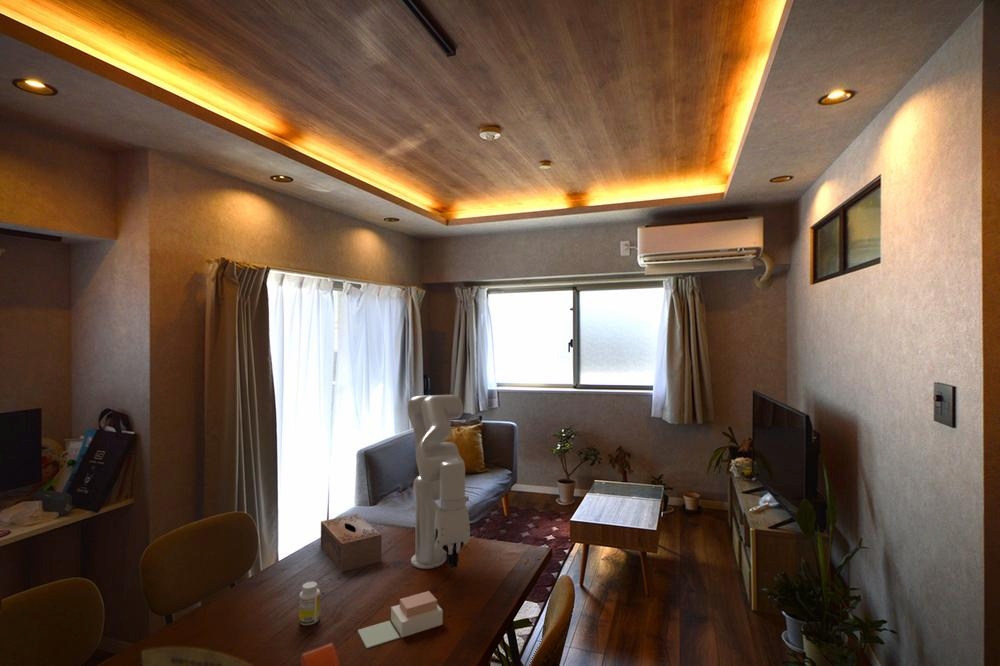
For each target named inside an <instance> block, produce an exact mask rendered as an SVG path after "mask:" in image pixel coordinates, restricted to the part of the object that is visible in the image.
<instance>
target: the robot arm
mask: <svg viewBox="0 0 1000 666" xmlns="http://www.w3.org/2000/svg"><path fill="white" fill-rule="evenodd" d="M463 407H464V405H463V402H462V400H461V398H460V397H459V396H458V395H455V394H435V395H434V394H432V395H431V394H428V395H417V396H413V397H412V398H411V397H410V399H409V401H408V403H407V414H408V417H409V421H410V423H411V425H412V429H413V432H414V442H415V443H414V444H415V461H416V466H417V470H418V474H419V475H418V476H416V477H415V479H414V480H413V484H412V485H413V486H412V487H413V494H414V503H415V554H413V556H411V559H410V563H411V565H412V566H413V567H415V568H418V569H422V570H423V569H424V570H425V569H427V570H428V569H429V570H431V569H434V568H435V567H436V568H438V566H439V567H441V566H442V564H443V563H444V562H445V561H446V562H445V563H446V564H447V565H448V566H449V568H451V569H454V568H458V563H459V553H460V551H461V549H462V547H463V546H464V545H467V544H468V543H470V537H471V535H470V534H471V528H470V527H471V526H470V516H469V510H468V507H467V505H466V503H467V502H469V501H470V500H469V499H470V498H469V496H466V466H465V461H464V459H463V458H462V457H461V455H460V452H459V449H458V446H457V444H456V443H455V442H452V441H446V440H447V439H448V438H449V437H450V436H451V435H452V426H451V423H450V420H454V419H455V420H458V419H460V418H461V417H462V416H463V413H464V408H463ZM436 501H439V505H438V503H437V502H436ZM445 563H444V564H445ZM444 564H443V565H444ZM440 565H441V566H440ZM436 568H435V569H436Z"/></svg>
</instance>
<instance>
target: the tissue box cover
mask: <svg viewBox="0 0 1000 666" xmlns="http://www.w3.org/2000/svg"><path fill="white" fill-rule="evenodd" d="M382 544H383V543H382V533H380V531H378V530H377V529H376V528H374V526H372V525H371V524H370V523H369V522H367V521H366V520H365V519H364V518H363V517H362V516H361V515H359V514H358V513H355V514H350V515H344V516H340V517H336V518H331V519H326V520H322V521H320V547H321V548H322V550H323V551H324V552H325V554H326V555H327V556H328V557H329V558H330V560H331V561H332V562H333V563H334V566H336V567H337V568H338V570H339V571H340V572H341V573H344V572H348V571H351V570H355V569H359V568H363V567H366V566H369V565H374V564H377V563H380V562H382Z"/></svg>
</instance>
